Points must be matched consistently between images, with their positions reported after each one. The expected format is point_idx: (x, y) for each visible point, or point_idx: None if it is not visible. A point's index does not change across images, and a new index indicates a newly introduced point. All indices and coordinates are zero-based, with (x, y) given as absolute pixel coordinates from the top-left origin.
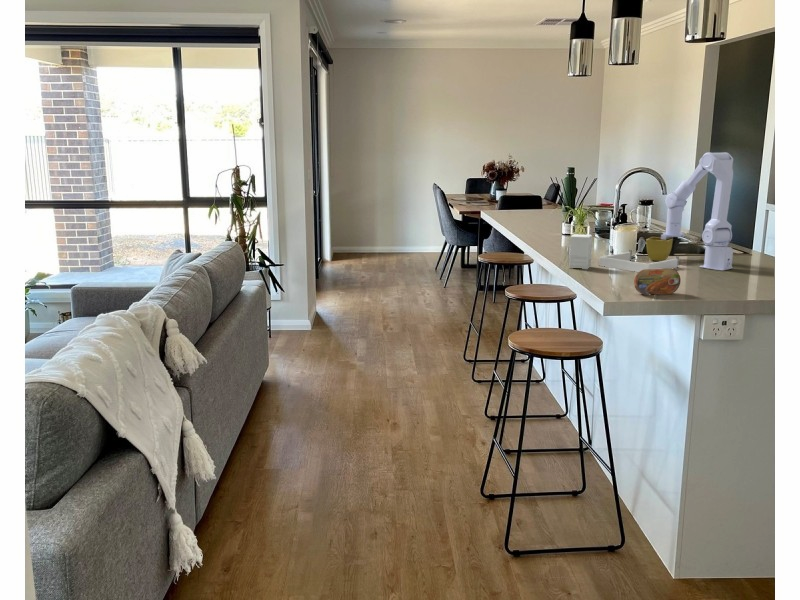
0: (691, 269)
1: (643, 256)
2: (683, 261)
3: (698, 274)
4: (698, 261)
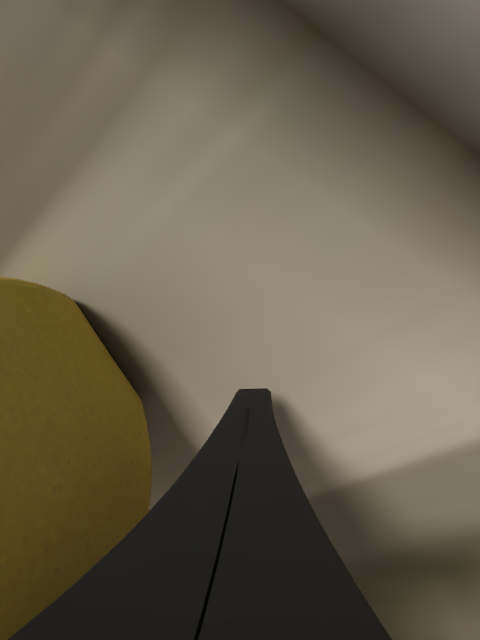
0: None
1: (72, 14)
2: None
3: None
4: (344, 555)
